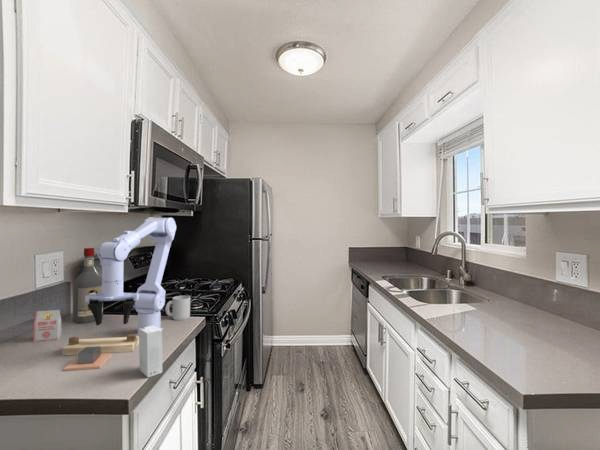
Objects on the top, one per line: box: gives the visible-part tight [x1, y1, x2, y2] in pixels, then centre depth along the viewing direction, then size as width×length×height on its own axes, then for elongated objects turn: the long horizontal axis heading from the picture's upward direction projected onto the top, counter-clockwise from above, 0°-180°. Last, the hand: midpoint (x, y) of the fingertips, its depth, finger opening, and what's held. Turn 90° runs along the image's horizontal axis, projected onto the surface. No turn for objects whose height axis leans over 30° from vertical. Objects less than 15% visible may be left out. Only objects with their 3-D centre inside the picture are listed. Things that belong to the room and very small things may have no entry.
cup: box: [165, 295, 191, 321], centre depth 134 cm, size 7×10×9 cm
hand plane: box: [61, 333, 139, 356], centre depth 101 cm, size 8×20×4 cm, turn 102°
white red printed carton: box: [32, 309, 62, 342], centre depth 108 cm, size 4×7×10 cm, turn 111°
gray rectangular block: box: [77, 346, 102, 364], centre depth 92 cm, size 5×4×3 cm
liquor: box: [72, 247, 104, 324], centre depth 130 cm, size 9×9×30 cm
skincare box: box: [138, 325, 163, 378], centre depth 87 cm, size 6×4×12 cm
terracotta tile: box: [63, 353, 113, 372], centre depth 92 cm, size 9×9×1 cm
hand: (112, 323), depth 97 cm, fingers open, 7 cm apart
